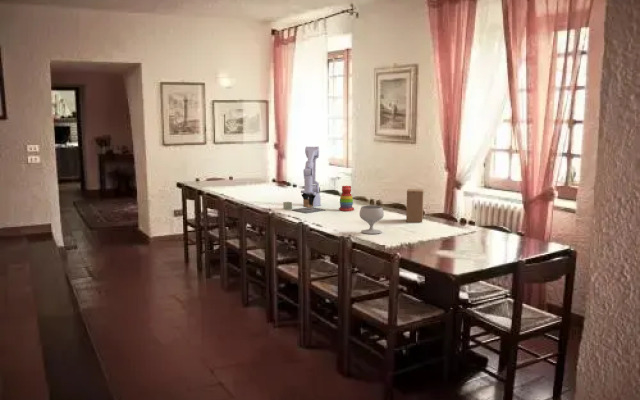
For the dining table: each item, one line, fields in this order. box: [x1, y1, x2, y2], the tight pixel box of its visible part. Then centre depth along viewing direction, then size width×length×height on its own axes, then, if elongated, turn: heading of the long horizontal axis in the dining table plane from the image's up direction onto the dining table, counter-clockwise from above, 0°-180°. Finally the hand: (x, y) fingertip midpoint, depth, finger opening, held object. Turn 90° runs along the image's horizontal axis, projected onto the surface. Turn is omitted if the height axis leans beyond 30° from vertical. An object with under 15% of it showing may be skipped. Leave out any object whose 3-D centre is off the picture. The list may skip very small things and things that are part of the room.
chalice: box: [359, 204, 385, 235], centre depth 325 cm, size 14×14×15 cm
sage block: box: [282, 201, 293, 211], centre depth 407 cm, size 4×4×5 cm
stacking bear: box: [338, 185, 355, 212], centre depth 399 cm, size 11×10×18 cm
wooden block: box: [405, 188, 424, 223], centre depth 359 cm, size 10×10×20 cm
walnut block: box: [302, 199, 314, 208], centre depth 400 cm, size 5×5×5 cm
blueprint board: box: [291, 206, 326, 214], centre depth 401 cm, size 18×16×1 cm
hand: (308, 204), depth 400 cm, fingers closed on walnut block, 5 cm apart
